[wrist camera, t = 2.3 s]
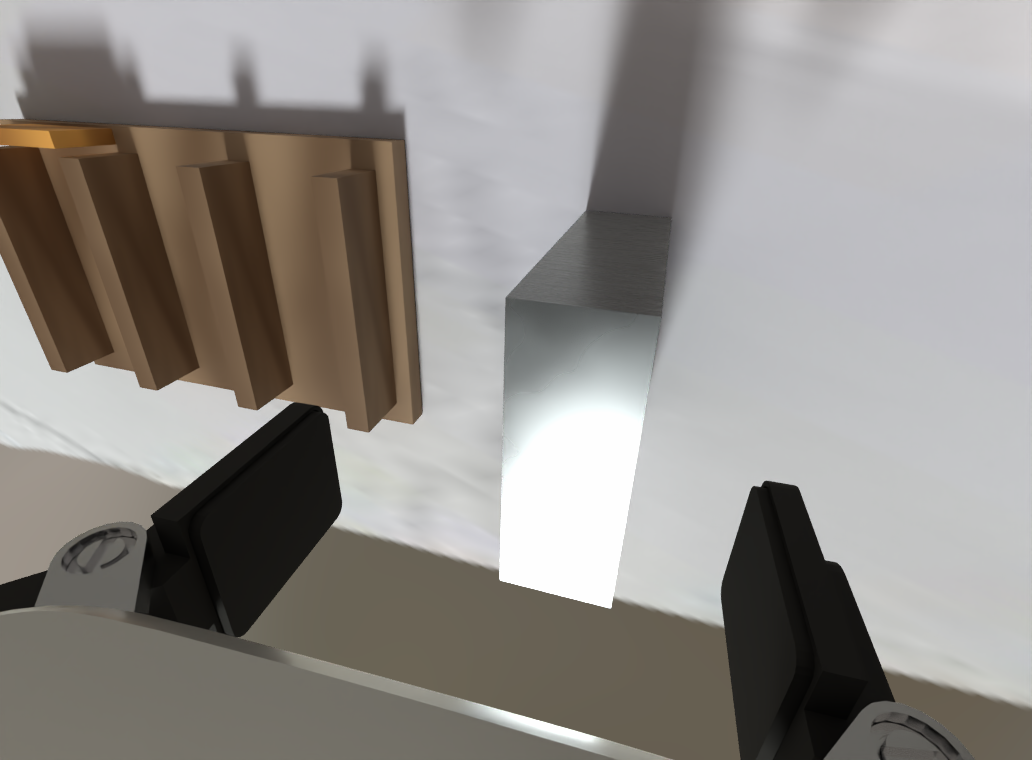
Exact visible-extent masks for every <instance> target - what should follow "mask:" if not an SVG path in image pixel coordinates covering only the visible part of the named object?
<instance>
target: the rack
mask: <svg viewBox="0 0 1032 760" xmlns="http://www.w3.org/2000/svg"><path fill="white" fill-rule="evenodd" d="M0 124H1V125H0V145H9V146H2V147H0V254H1V256H2V259H3V261H4V263H5V265H6V268H7V270H8V272H9V274H10V277H11V279H12V281H13V283H14V286H15V288H16V290H17V293H18V295H19V297H20V299H21V302H22V304H23V306H24V308H25V311H26V313H27V315H28V317H29V320H30V322H31V324H32V326H33V329H34V331H35V333H36V335H37V338H38V340H39V342H40V345H41V347H42V349H43V351H44V354H45V356H46V358H47V360H48V363H49V365H50V367H51V369H52V370H56V371H61V372H66V373H68V372H70V371H72V370H74V369H77V368H79V367H81V366H84V365H86V364H88V363H91V362H93V361H94V362H95V364H98V365H103V366H108V367H113V368H119V369H124V370H129V371H134V372H135V374H136V377H137V380H138V382H139V385H140V387H142V388H147V389H152V390H159V389H161V388H163V387H165V386H167V385H169V384H170V383H172V382H174V381H176V380H182V381H187V382H192V383H198V384H203V385H208V386H213V387H219V388H224V389H229V390H234V392H235V396H236V400H237V403H238V407H243V408H248V409H253V410H259V409H260V408H261V407H263V406H264V405H266V404H267V403H268V402H270V401H271V400H273V399H274V398H276V399H282V400H287V401H292V402H299V403H305V404H311V405H317V406H319V407H324V408H329V409H334V410H339V411H345V414H346V421H347V427H348V428H349V429H354V430H359V431H364V432H370V431H371V430H372V429H373V428H374V427H375V426H376V425H377V423H378V422H379V421H380V420H381V419H387V420H392V421H397V422H403V423H408V424H414V423H415V422H416V421H417V419H418V418H419V417H420V416H421V415H422V401H421V386H420V371H419V356H418V340H417V325H416V310H415V294H414V279H413V264H412V248H411V233H410V218H409V202H408V187H407V172H406V157H405V141H404V140H395V139H377V138H359V137H341V136H323V135H304V134H286V133H268V132H250V131H232V130H214V129H195V128H177V127H159V126H141V125H123V124H105V123H86V122H68V121H50V120H32V119H1V120H0Z"/></svg>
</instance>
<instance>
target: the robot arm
mask: <svg viewBox="0 0 1032 760" xmlns="http://www.w3.org/2000/svg"><path fill="white" fill-rule="evenodd" d="M341 508H342V498H341V492H340V486H339V480H338V473H337V467H336V461H335V455H334V449H333V443H332V436H331V430H330V424H329V419H328V416H327V414H325V413H323V410H322V409H321V407H319V406H317V405H311V404H305V403H299V402H294V403H292V404H290V405H289V406H288V407H286V408H285V409H284V410H283V411H281V412H280V413H279V414H278V415H276V416H275V417H274V418H273V419H271V420H270V421H269V422H268V423H266V424H265V425H264V426H263V427H261V428H260V429H259V430H258V431H256V432H255V433H254V434H252V435H251V436H250V437H249V438H247V439H246V440H245V441H244V442H242V443H241V444H240V445H239V446H237V447H236V448H235V449H234V450H232V451H231V452H230V453H229V454H227V455H226V456H225V457H224V458H222V459H221V460H220V461H219V462H217V463H216V464H215V465H214V466H212V467H211V468H210V469H209V470H207V471H206V472H205V473H204V474H202V475H201V476H200V477H198V478H197V479H196V480H195V481H193V482H192V483H191V484H190V485H188V486H187V487H186V488H185V489H183V490H182V491H181V492H180V493H178V494H177V495H176V496H175V497H173V498H172V499H171V500H170V501H169V502H167V503H166V504H165V505H163V506H162V507H161V508H160V509H159V510H157V511H156V512H155V513H153V514H152V515H151V518H152V520H153V523H154V525H153V526H151V527H150V528H149V529H148V530H145V529H144V528H143V527H142V526H141V525H139V524H136V523H133V522H116V523H111V524H106V525H103V526H99V527H96V528H93V529H91V530H89V531H87V532H85V533H83V534H80V535H79V536H77V537H75V538H74V539H72V540H71V541H69V542H68V543H66V544H65V545H64V546H63V547H62V548H61V549H60V550H59V551H58V552H57V553H56V555H55V556H54V558H53V560H52V561H51V563H50V566H49V568H48V570H47V571H44V572H41V573H38V574H34V575H31V576H28V577H24V578H21V579H18V580H15V581H11V582H8V583H5V584H2V585H0V760H672V759H669V758H665V757H662V756H659V755H656V754H652V753H649V752H646V751H642V750H639V749H636V748H632V747H629V746H626V745H622V744H619V743H615V742H612V741H609V740H606V739H602V738H599V737H595V736H592V735H588V734H584V733H581V732H577V731H574V730H570V729H567V728H563V727H559V726H556V725H552V724H549V723H545V722H542V721H538V720H535V719H531V718H528V717H524V716H521V715H517V714H513V713H510V712H506V711H502V710H499V709H496V708H492V707H489V706H485V705H481V704H478V703H474V702H471V701H467V700H463V699H460V698H456V697H453V696H449V695H446V694H442V693H438V692H434V691H431V690H427V689H424V688H420V687H417V686H413V685H409V684H406V683H402V682H398V681H394V680H391V679H388V678H384V677H380V676H376V675H373V674H369V673H365V672H362V671H358V670H355V669H351V668H348V667H344V666H340V665H337V664H333V663H329V662H325V661H322V660H318V659H315V658H311V657H307V656H303V655H300V654H296V653H292V652H289V651H285V650H281V649H277V648H273V647H270V646H266V645H262V644H259V643H255V642H251V641H247V640H244V639H240V638H237V637H241V636H243V635H244V634H245V633H246V632H247V631H248V630H249V629H250V627H251V626H252V625H253V624H254V622H255V621H256V620H257V619H258V617H259V616H260V615H261V613H262V612H263V611H264V610H265V608H266V607H267V606H268V605H269V603H270V602H271V601H272V600H273V598H274V597H275V596H276V595H277V593H278V592H279V591H280V590H281V588H282V587H283V586H284V585H285V583H286V582H287V581H288V579H289V578H290V577H291V576H292V574H293V573H294V572H295V571H296V569H297V568H298V567H299V566H300V564H301V563H302V562H303V560H304V559H305V558H306V557H307V556H308V554H309V553H310V552H311V550H312V549H313V548H314V547H315V545H316V544H317V543H318V542H319V540H320V539H321V538H322V537H323V535H324V534H325V533H326V532H327V530H328V529H329V528H330V526H331V525H332V524H333V523H334V521H335V520H336V519H337V518H338V516H339V514H340V512H341ZM721 602H722V610H723V618H724V627H725V635H726V643H727V651H728V659H729V668H730V676H731V684H732V692H733V701H734V708H735V716H736V725H737V733H738V741H739V749H740V757H741V760H975V759H974V758H973V756H972V755H971V754H970V753H969V751H968V750H967V749H966V748H965V747H964V745H963V744H962V743H961V742H960V741H959V740H958V738H956V737H955V736H954V735H953V734H952V733H951V732H949V731H948V730H947V729H946V728H945V727H944V726H943V725H942V724H940V723H939V722H937V721H936V720H934V719H932V718H931V717H929V716H928V715H926V714H925V713H923V712H921V711H919V710H916V709H914V708H912V707H909V706H907V705H904V704H901V703H896V702H895V700H894V697H893V695H892V692H891V690H890V687H889V684H888V682H887V679H886V677H885V675H884V672H883V669H882V667H881V664H880V662H879V659H878V657H877V654H876V652H875V649H874V646H873V644H872V641H871V639H870V636H869V634H868V631H867V629H866V626H865V624H864V621H863V619H862V616H861V613H860V611H859V608H858V606H857V603H856V601H855V598H854V596H853V593H852V591H851V588H850V586H849V583H848V581H847V578H846V575H845V573H844V571H843V569H842V568H841V566H840V565H839V564H838V563H836V562H831V561H826V560H825V559H824V557H823V554H822V551H821V548H820V546H819V543H818V540H817V537H816V535H815V532H814V529H813V526H812V523H811V521H810V518H809V515H808V512H807V510H806V507H805V504H804V501H803V499H802V496H801V493H800V490H799V488H798V487H797V486H795V485H789V484H783V483H777V482H771V481H764V483H763V484H762V486H761V487H757V486H753V487H752V488H751V491H750V494H749V497H748V500H747V503H746V507H745V510H744V513H743V516H742V520H741V523H740V526H739V529H738V532H737V536H736V539H735V542H734V545H733V549H732V552H731V555H730V558H729V561H728V565H727V568H726V571H725V574H724V578H723V581H722V587H721Z"/></svg>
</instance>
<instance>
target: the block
mask: <svg viewBox="0 0 1032 760" xmlns="http://www.w3.org/2000/svg"><path fill="white" fill-rule="evenodd" d="M671 219H672V218H671V217H659V216H647V215H634V214H622V213H610V212H598V211H585V212H584V213H583V214H582V216H581V217H580V218H579V219H578V220H577V221H576V222H575V223H574V224H573V225H572V226H571V227H570V228H569V230H568V231H567V232H566V233H565V234H564V235H563V236H562V237H561V238H560V239H559V240H558V241H557V243H556V244H555V245H554V246H553V247H552V248H551V249H550V250H549V251H548V252H547V253H546V254H545V256H544V257H543V258H542V259H541V260H540V261H539V262H538V263H537V264H536V265H535V266H534V267H533V269H532V270H531V271H530V272H529V273H528V274H527V275H526V276H525V277H524V278H523V279H522V280H521V282H520V283H519V284H518V285H517V286H516V287H515V288H514V289H513V290H512V291H511V292H510V293H509V295H508V296H507V297H506V306H505V353H504V399H503V446H502V493H501V539H500V580H501V581H505V582H509V583H513V584H517V585H521V586H525V587H529V588H533V589H537V590H541V591H545V592H549V593H553V594H556V595H560V596H565V597H569V598H572V599H576V600H580V601H584V602H588V603H592V604H596V605H599V606H603V607H607V608H611V605H612V599H613V593H614V588H615V582H616V576H617V570H618V564H619V559H620V553H621V547H622V541H623V536H624V530H625V524H626V518H627V512H628V507H629V501H630V495H631V489H632V484H633V478H634V472H635V466H636V460H637V455H638V449H639V443H640V437H641V432H642V426H643V420H644V414H645V409H646V403H647V397H648V391H649V385H650V380H651V374H652V368H653V362H654V357H655V351H656V345H657V339H658V333H659V328H660V322H661V316H662V306H663V296H664V287H665V277H666V267H667V258H668V248H669V238H670V229H671Z"/></svg>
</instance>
